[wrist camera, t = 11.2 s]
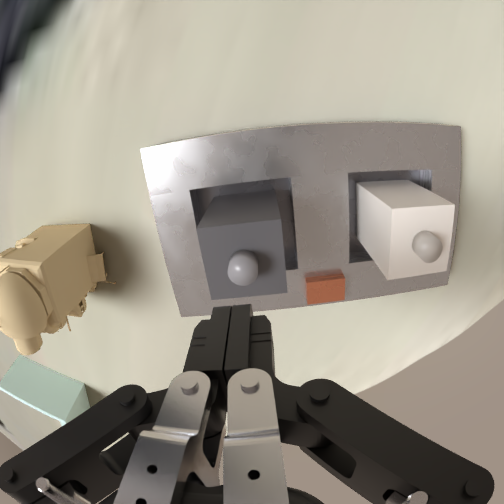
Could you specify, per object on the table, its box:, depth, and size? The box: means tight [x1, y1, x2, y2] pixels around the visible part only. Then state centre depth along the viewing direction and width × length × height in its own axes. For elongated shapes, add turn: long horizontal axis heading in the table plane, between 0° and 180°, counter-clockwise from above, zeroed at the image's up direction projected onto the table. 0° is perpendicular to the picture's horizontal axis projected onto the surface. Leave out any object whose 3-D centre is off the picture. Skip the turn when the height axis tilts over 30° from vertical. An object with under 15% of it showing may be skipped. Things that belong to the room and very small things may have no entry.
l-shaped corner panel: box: [0, 355, 90, 426], centre depth 33 cm, size 12×12×8 cm
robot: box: [0, 224, 116, 355], centre depth 19 cm, size 10×8×15 cm
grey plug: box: [196, 190, 288, 300], centre depth 20 cm, size 5×5×8 cm
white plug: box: [356, 180, 455, 280], centre depth 19 cm, size 5×5×8 cm
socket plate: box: [140, 122, 461, 317], centre depth 22 cm, size 14×24×3 cm, turn 97°
